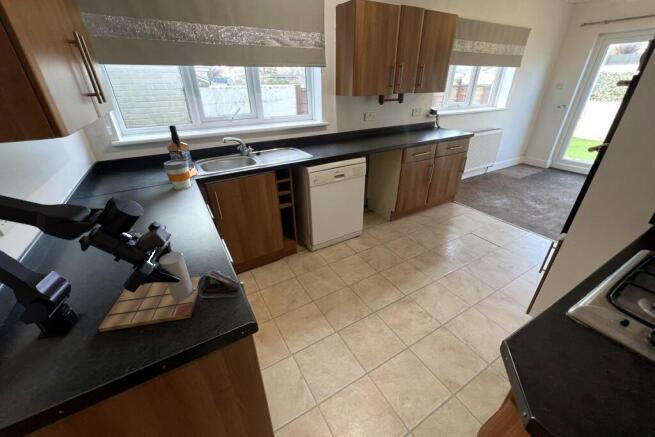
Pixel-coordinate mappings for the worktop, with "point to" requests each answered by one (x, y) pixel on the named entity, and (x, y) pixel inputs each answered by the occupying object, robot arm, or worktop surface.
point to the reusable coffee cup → (178, 173)
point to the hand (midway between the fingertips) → (182, 273)
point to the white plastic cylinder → (178, 268)
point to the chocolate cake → (217, 285)
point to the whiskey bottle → (180, 150)
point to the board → (149, 307)
